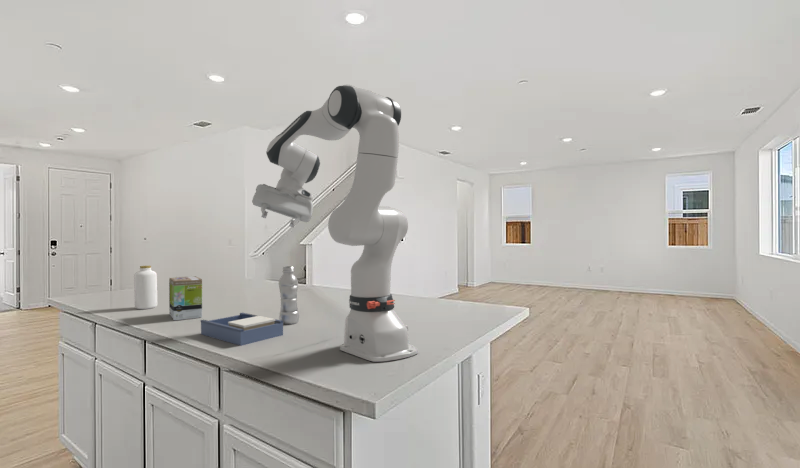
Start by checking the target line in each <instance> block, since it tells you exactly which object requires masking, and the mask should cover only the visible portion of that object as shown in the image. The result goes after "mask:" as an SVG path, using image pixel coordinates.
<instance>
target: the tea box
mask: <svg viewBox="0 0 800 468" xmlns="http://www.w3.org/2000/svg"><path fill="white" fill-rule="evenodd" d="M168 282H169V283H168V284H169V285H168V286H169V287H168V290H169V291H168V292H169V293H168V294H169V295H168V297H169V298H168V299H169V301H168V303H169V308H168V309H169V315H170V317H171V319H172V320H173V321H182V320H183V321H184V320H190V319H192V320H193V319H199V318H202V317H203V279H202V278H200V277H198V276H176V277H169V281H168Z"/></svg>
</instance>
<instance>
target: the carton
mask: <svg viewBox="0 0 800 468" xmlns="http://www.w3.org/2000/svg"><path fill="white" fill-rule="evenodd" d="M275 319H276V318H272V317H266V316H261V315H257V316H255V317H250V318H245V319H240V320H235V321H230V322H228V324H229V326H232V327H236V328H240V329H244V331H245V330H250V329H254V328H259V327H263V326H268V325H272V324H274V321H275Z"/></svg>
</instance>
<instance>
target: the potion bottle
mask: <svg viewBox="0 0 800 468" xmlns="http://www.w3.org/2000/svg"><path fill="white" fill-rule="evenodd" d="M133 275H134V276H133V278H134V279H133V281H134V282H133V284H134V308H135V309H137V310H149V309H154V308H156V307H158V273H157V272H156V271H155V270H152V265H141V266H139V271H137V272H135V273H134V274H133Z"/></svg>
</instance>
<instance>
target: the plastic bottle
mask: <svg viewBox="0 0 800 468" xmlns="http://www.w3.org/2000/svg"><path fill="white" fill-rule="evenodd" d="M294 267H295V266H282V273H283V274H282V275H281V277H280V278H279V280H278V287H279V295H280V311H279V317H278V320H282V321H283V325H295V324H298V323H299V321H300V313H299V309H298V307H299V306H298V288H299V281H298V278H297V276H296V275H295V273H294V272H295V268H294Z"/></svg>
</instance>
